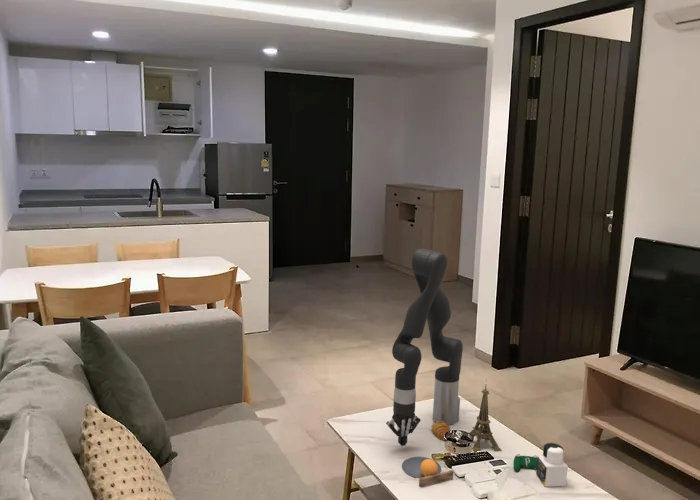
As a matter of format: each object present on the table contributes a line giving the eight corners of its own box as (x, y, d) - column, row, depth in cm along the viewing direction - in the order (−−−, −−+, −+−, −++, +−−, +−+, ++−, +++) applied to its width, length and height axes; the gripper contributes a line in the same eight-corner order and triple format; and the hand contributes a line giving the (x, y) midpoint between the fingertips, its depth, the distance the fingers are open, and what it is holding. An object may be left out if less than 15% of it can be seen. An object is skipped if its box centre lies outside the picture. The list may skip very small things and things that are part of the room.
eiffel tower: (501, 451, 208) (507, 384, 203) (473, 453, 205) (478, 386, 201) (489, 436, 218) (493, 372, 213) (462, 438, 216) (466, 374, 211)
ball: (430, 459, 195) (436, 455, 190) (436, 477, 192) (442, 472, 188) (415, 463, 193) (421, 459, 188) (421, 481, 190) (427, 477, 186)
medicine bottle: (535, 474, 193) (538, 440, 191) (556, 473, 194) (559, 440, 192) (544, 487, 186) (547, 452, 184) (566, 486, 187) (569, 451, 185)
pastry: (455, 441, 214) (455, 431, 213) (437, 442, 213) (437, 432, 212) (446, 428, 223) (446, 419, 222) (429, 430, 222) (429, 420, 221)
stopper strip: (451, 477, 190) (451, 470, 190) (452, 478, 190) (453, 471, 189) (419, 485, 186) (419, 478, 185) (420, 487, 185) (421, 479, 184)
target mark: (427, 454, 204) (428, 453, 204) (449, 473, 192) (449, 473, 192) (394, 461, 199) (394, 461, 199) (414, 482, 187) (414, 481, 187)
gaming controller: (541, 476, 196) (539, 457, 199) (543, 473, 193) (541, 454, 196) (512, 473, 197) (511, 455, 200) (514, 470, 194) (513, 452, 197)
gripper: (415, 391, 210) (413, 436, 213) (382, 397, 204) (380, 443, 208) (426, 400, 203) (424, 446, 206) (392, 406, 198) (390, 453, 201)
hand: (402, 444), depth 207 cm, fingers closed
